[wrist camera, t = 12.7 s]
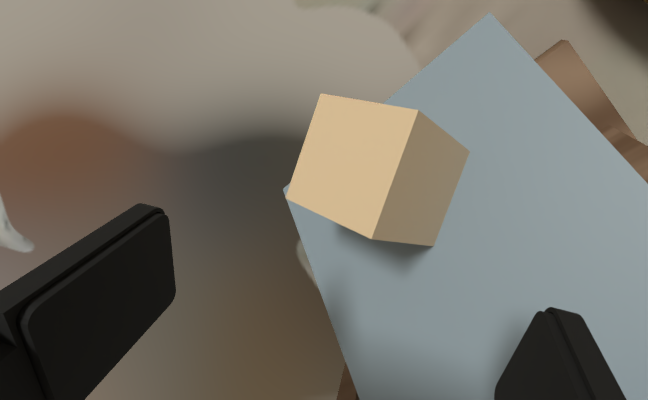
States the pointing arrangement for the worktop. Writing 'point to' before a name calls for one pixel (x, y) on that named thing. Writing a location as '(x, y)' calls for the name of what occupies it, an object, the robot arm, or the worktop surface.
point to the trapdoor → (493, 238)
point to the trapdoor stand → (593, 104)
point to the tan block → (378, 170)
